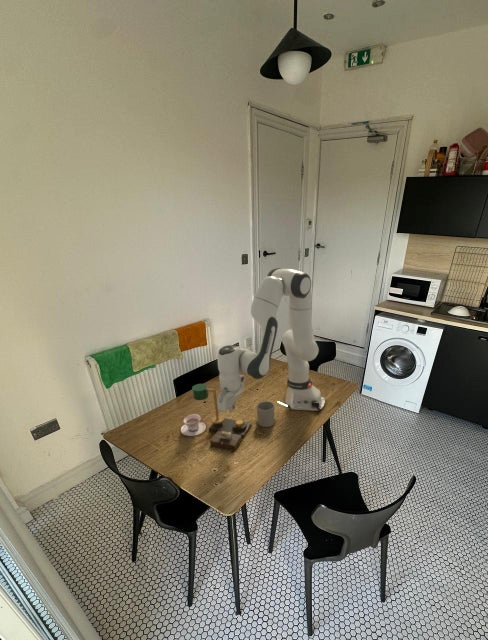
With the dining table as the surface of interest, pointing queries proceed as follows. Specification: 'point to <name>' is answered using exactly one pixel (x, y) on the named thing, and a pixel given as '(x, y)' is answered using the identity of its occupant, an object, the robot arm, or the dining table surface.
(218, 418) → the desk lamp
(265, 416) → the cup
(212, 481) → the dining table surface
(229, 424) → the lamp base
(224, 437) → the dimmer knob
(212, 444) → the dimmer
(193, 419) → the teacup
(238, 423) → the lamp switch
